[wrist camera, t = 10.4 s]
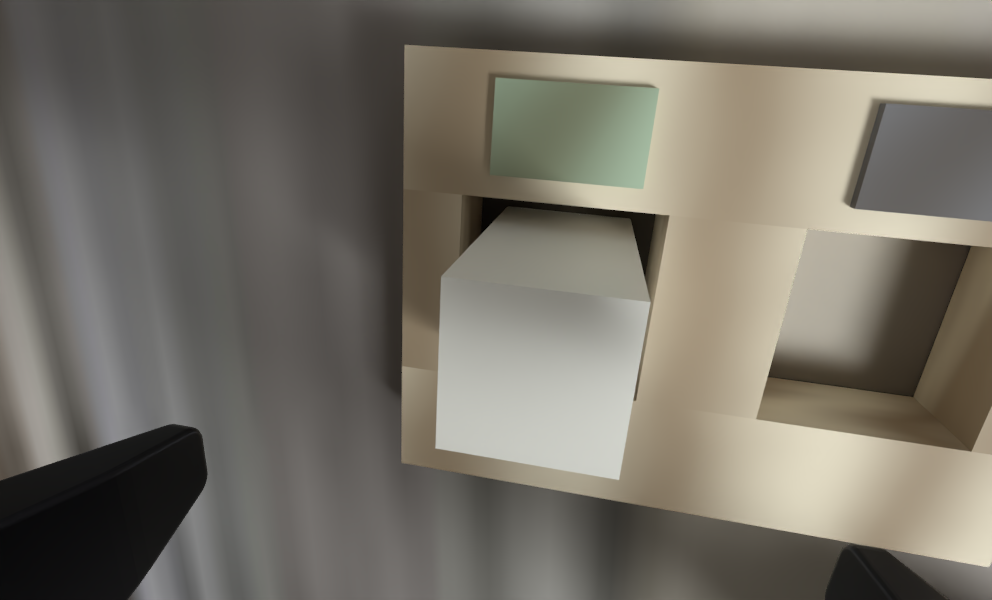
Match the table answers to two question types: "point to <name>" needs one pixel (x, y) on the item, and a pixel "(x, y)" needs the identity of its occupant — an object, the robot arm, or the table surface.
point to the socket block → (726, 274)
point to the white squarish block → (542, 341)
